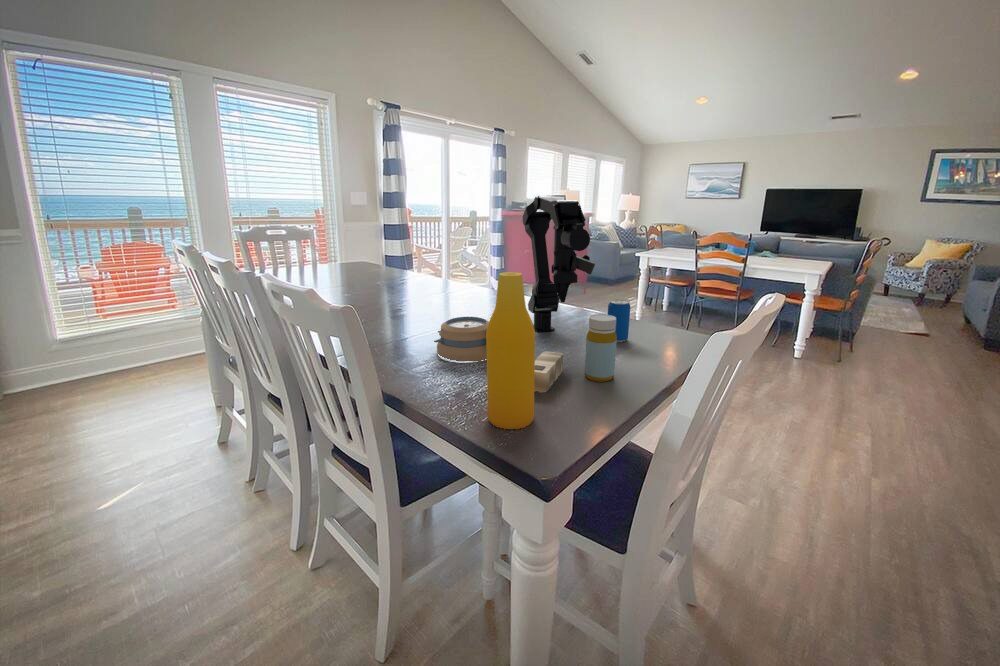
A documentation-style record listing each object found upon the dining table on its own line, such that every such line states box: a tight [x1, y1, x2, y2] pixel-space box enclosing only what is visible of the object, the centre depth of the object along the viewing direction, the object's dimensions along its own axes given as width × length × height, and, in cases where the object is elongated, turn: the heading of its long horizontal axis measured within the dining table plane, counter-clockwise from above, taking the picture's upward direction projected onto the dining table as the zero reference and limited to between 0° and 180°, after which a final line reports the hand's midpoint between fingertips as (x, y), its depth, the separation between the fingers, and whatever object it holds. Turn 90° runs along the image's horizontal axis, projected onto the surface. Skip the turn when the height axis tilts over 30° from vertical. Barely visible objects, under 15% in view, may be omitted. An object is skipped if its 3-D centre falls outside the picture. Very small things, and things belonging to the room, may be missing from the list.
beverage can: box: [607, 299, 631, 343], centre depth 134 cm, size 6×6×12 cm
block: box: [534, 350, 564, 393], centre depth 106 cm, size 5×5×14 cm
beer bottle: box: [486, 271, 536, 430], centre depth 84 cm, size 9×9×29 cm
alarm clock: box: [433, 316, 490, 361], centre depth 125 cm, size 17×9×23 cm
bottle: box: [584, 313, 618, 383], centre depth 106 cm, size 7×7×15 cm
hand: (562, 302), depth 128 cm, fingers closed
